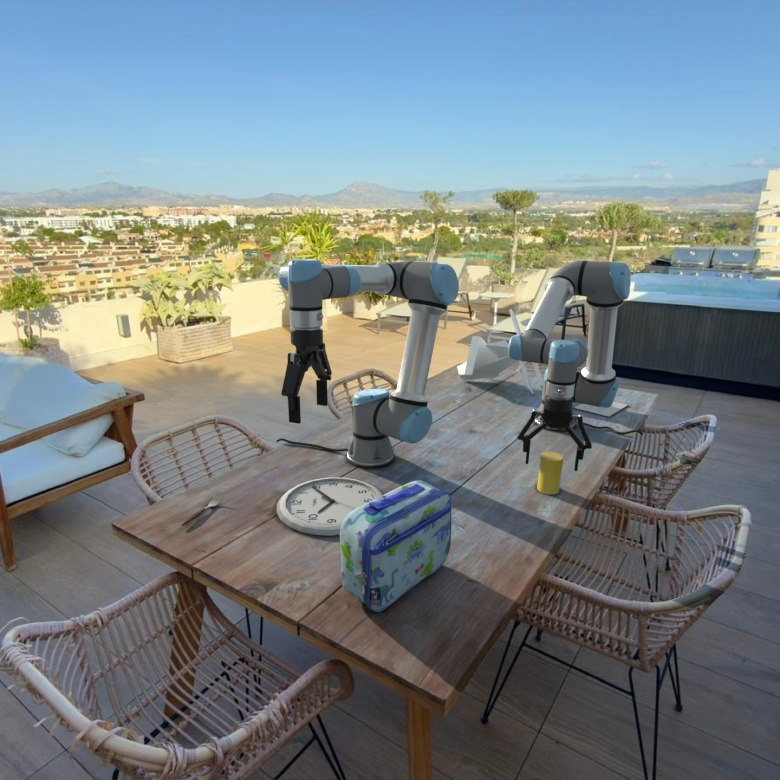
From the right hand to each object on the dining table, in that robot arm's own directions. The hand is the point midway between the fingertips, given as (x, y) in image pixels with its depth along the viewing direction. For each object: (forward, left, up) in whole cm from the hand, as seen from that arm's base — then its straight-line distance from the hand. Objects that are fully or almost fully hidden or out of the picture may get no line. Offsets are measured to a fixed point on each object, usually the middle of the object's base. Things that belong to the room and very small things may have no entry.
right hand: (551, 465), depth 152 cm
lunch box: (+40, +49, -7) cm, 63 cm away
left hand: (+64, +26, +22) cm, 73 cm away
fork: (+94, +28, -7) cm, 98 cm away
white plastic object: (+8, -101, -7) cm, 102 cm away
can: (0, 0, -7) cm, 8 cm away
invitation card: (-36, -80, -7) cm, 88 cm away
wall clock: (+61, +19, -7) cm, 64 cm away
